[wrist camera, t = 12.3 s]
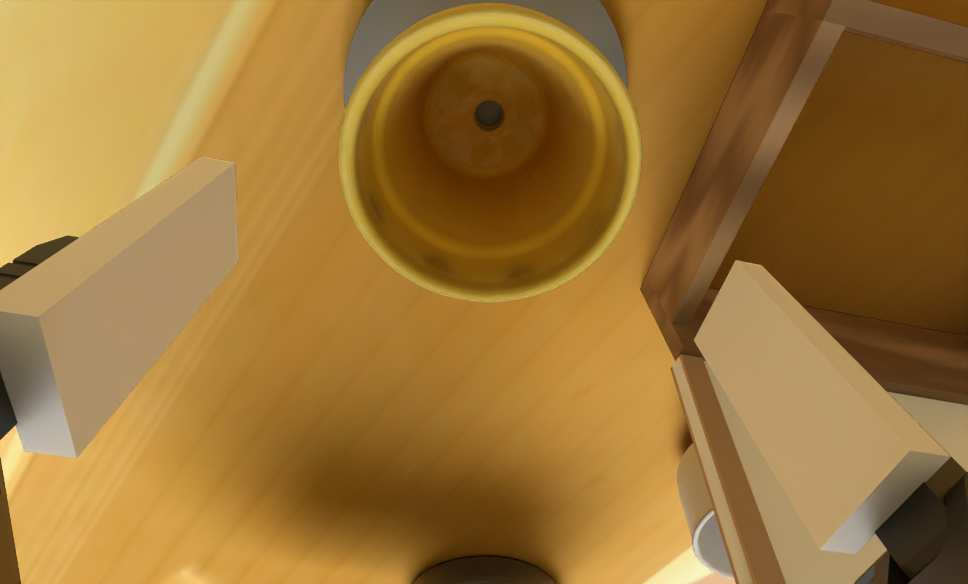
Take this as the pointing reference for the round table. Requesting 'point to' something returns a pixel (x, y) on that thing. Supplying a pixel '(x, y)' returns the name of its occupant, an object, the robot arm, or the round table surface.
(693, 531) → the teacup
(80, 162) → the round table surface
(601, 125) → the plant pot
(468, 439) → the round table surface
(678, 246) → the cold frame
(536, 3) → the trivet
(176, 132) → the round table surface
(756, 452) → the lid
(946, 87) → the round table surface
